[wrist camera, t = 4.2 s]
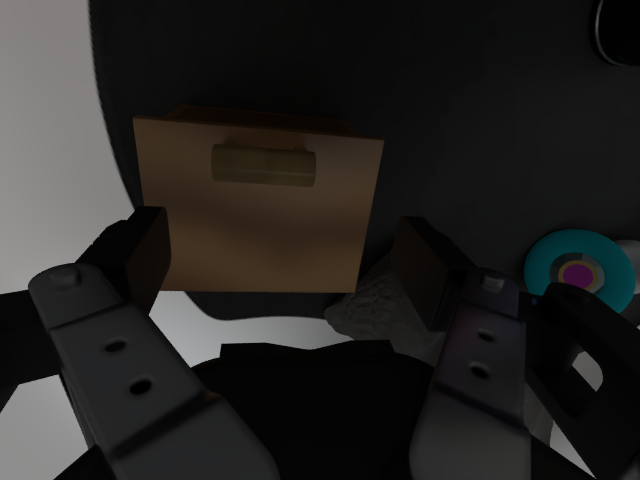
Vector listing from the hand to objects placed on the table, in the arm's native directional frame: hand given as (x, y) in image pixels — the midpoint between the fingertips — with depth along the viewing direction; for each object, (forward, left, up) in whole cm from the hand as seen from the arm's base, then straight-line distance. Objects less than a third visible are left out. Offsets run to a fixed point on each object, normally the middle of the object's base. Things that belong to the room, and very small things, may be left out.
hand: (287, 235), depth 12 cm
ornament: (+17, +32, -20) cm, 41 cm away
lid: (+4, -1, -10) cm, 11 cm away
